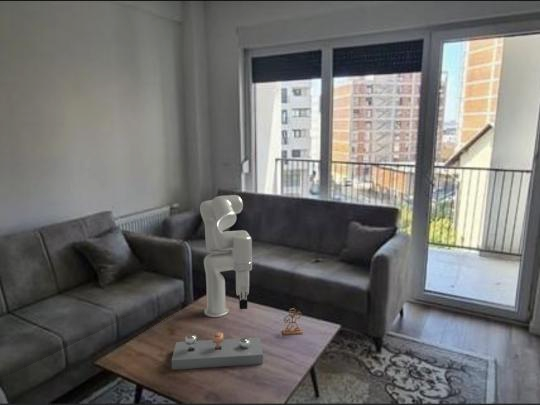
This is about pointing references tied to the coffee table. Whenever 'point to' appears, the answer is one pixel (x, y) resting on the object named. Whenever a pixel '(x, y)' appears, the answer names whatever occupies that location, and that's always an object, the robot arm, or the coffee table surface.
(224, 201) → the robot arm
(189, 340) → the knob
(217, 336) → the knob middle
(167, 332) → the coffee table surface
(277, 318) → the coffee table surface
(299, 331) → the tan upright piece
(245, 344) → the knob
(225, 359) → the knob panel
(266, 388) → the coffee table surface
